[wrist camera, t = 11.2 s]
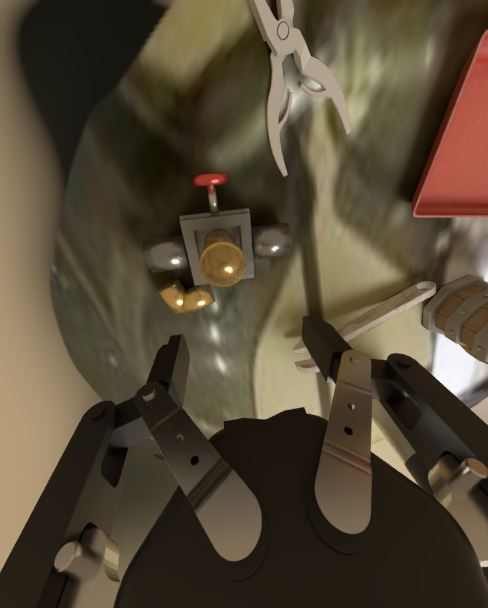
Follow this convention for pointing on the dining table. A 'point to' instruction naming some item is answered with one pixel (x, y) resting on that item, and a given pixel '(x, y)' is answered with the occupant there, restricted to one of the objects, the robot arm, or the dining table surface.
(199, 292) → the brass elbow
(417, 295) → the wrench
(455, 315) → the tankard
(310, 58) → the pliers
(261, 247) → the valve body
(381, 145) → the dining table surface
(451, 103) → the plant saucer
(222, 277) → the brass knob
